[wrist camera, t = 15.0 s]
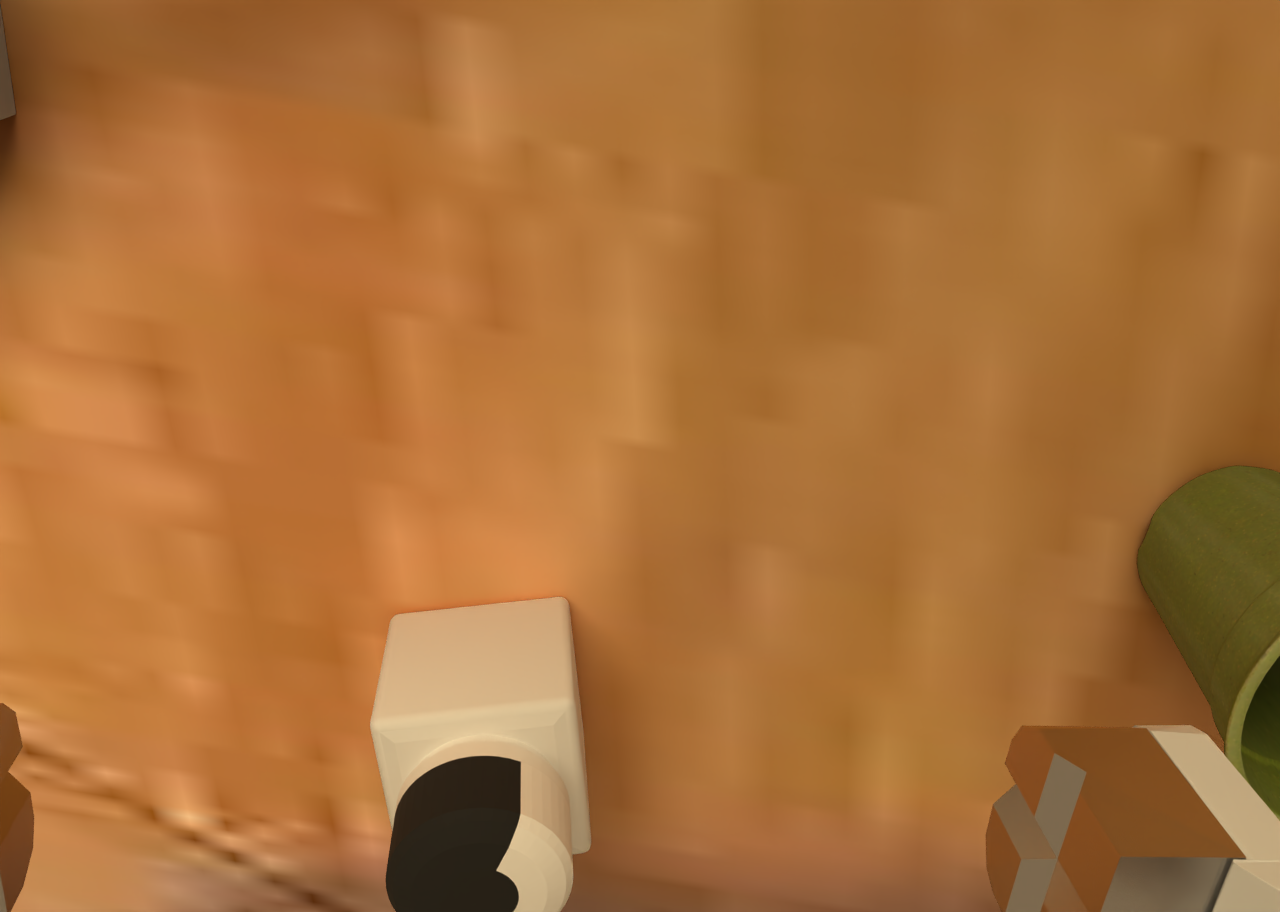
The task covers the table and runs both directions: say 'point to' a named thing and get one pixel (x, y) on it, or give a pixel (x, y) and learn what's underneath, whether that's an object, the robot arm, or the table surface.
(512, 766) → the medicine bottle
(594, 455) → the table surface
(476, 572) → the table surface
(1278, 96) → the table surface
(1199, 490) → the plant pot
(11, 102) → the grey block
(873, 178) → the table surface
